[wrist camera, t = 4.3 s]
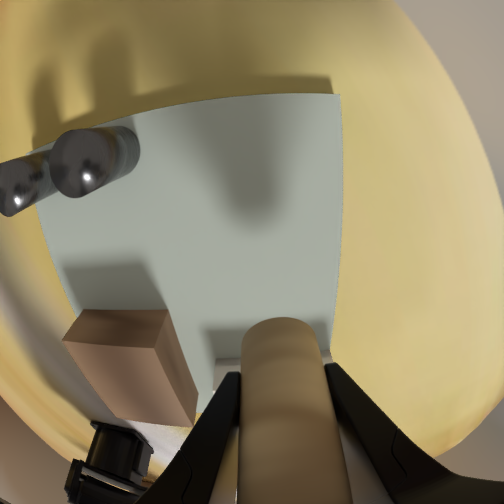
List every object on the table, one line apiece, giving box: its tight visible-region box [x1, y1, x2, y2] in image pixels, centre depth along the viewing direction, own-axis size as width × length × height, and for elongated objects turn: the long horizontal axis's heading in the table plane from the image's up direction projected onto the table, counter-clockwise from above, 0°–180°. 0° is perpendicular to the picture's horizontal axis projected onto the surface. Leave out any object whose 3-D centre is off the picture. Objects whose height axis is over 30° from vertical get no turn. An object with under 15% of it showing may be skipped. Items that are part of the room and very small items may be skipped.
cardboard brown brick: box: [62, 309, 199, 427], centre depth 15 cm, size 6×8×3 cm
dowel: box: [237, 317, 353, 504], centre depth 6 cm, size 3×3×8 cm
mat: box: [26, 93, 343, 413], centre depth 15 cm, size 16×21×1 cm
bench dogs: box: [0, 126, 140, 217], centre depth 9 cm, size 7×2×4 cm, turn 95°
